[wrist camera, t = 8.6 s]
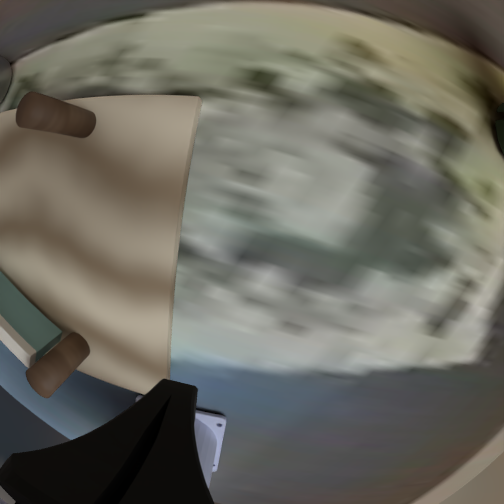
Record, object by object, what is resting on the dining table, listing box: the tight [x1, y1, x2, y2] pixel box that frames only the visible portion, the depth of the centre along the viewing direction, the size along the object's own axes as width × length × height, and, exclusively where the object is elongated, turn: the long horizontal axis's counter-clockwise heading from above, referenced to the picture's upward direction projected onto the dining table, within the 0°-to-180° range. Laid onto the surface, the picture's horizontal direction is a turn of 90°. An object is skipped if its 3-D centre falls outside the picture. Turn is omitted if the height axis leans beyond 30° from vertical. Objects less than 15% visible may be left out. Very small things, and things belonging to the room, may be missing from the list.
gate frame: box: [0, 92, 202, 398], centre depth 15 cm, size 22×20×7 cm
